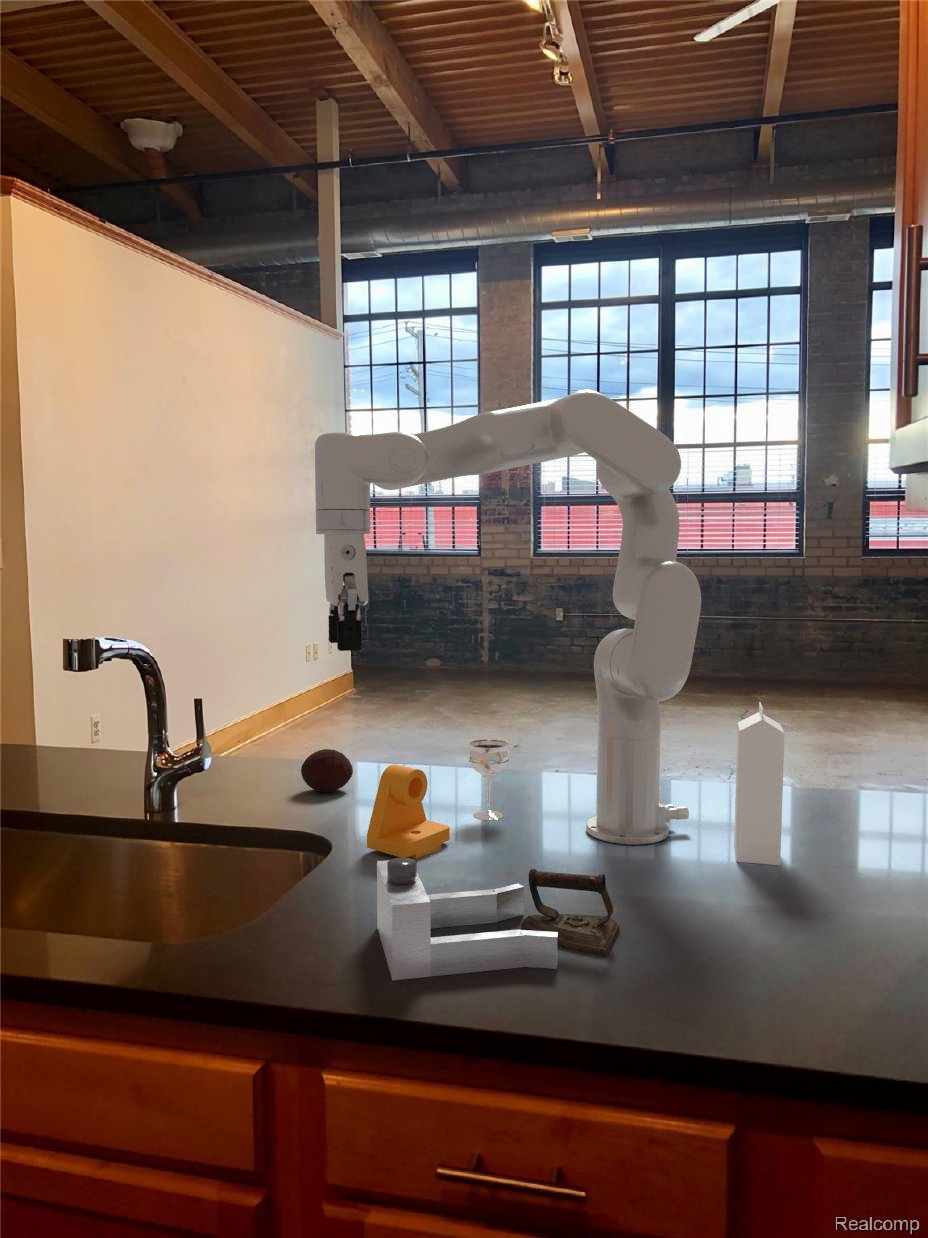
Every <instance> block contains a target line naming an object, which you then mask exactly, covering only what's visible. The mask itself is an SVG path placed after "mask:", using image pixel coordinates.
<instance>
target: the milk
mask: <svg viewBox="0 0 928 1238" xmlns="http://www.w3.org/2000/svg"><path fill="white" fill-rule="evenodd" d="M736 733H737V734H736V763H735V764H736V765H735V766H736V767H735V771H736V772H735V798H734V799H735V802H734V804H735V806H734V834H733V835H734V840H733V841H734V843H733V844H734V845H733V849H734V855H735V856H734V857H735V861H736V863H745V864H755V865H756V864H757V865H758V864H759V865H770V866H781V851H782V850H781V849H782V825H783V824H782V822H783V821H782V820H783V790H784V789H783V788H784V761H785V760H784V758H785V734H786V733H785V731H784V729H783V727H782V725H781V724H780V723H778V722H777V721H775V720H773V719H772V718H770V717H769V716H767V715H766V714H764V707H763V705H762V703H761V701H759V703H758V712H756V713H754V714H752V715H750V716H748V717H746V718H744V719H742V720H740V721H738V722H737V732H736Z"/></svg>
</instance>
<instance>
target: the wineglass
mask: <svg viewBox="0 0 928 1238" xmlns="http://www.w3.org/2000/svg"><path fill="white" fill-rule="evenodd" d="M468 745H469V748H470V749H469V750H468V752H467V756H468V759H467V760H468V763H469V765H470V767H471V768H472V769H473V770H474V771H475V772H477V773H479V774H481V775H483V777H484V778H485V785H486V790H485V791H486V810H482V811H477V812H474V813H473V814H472V815H473V817H474V818H475V819H478V820H483V821H494V820H499V819H502V818H503V817H504V814H503V813H502V812H499V811H497V810H496V811H495V810H491V809H490V803H491V782H492V781H491V779H492V778H493V777H494V775H496V774H498V773H501V772H502V771H503V770H504V769H505V768H506V767H507V766H508V763H509V760H510V753H509V751H508V749H507V748H508V747H509V742H507V741H505V740H502V739H494V738H493V739H492V738H490V739H488V738H486V739H485V738H483V739H482V738H481V739H476V740H475V739H474V740H471V741H469V742H468Z"/></svg>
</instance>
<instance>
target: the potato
mask: <svg viewBox="0 0 928 1238" xmlns="http://www.w3.org/2000/svg"><path fill="white" fill-rule="evenodd" d="M353 769H354V768H353V765H352V763H351V761H350V759H349V758H348V757H347V756H346V755H345V754H344V753H342V752H341V751H339V750H335V749H327V748H326V749H325V748H324V749H321V750H317V751H314V752H312V754H310V755H308V757H306V758H305V760H304V762H303V763H302V765H301V769H300V772H301V773H300V774H301V777H302V780H303V781H304V782H305V784H306V785H307V786H308V787H309V788H310V789H313V790H314V791H317V792H319V793H332V792H335V791H337V790H339V789H341V788H343V787H344V786H346V785H347V784H348V783H349V781H350V780H351V778H352V777H353V774H354V770H353Z"/></svg>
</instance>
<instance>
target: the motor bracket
mask: <svg viewBox="0 0 928 1238" xmlns="http://www.w3.org/2000/svg"><path fill="white" fill-rule="evenodd" d="M417 865H418V862H417V861H416V859H415V858H412V857H396V858H395V857H394V858H391V859H389V860H377V861H376V893H377V894H376V903H377V904H376V906H377V909H376V913H377V914H376V915H377V916H376V917H377V923H376V924H377V930H378V931H377V933H378V934H379V939H380V943H381V945H382V949H383V952H384V955H385V959H386V963H387V967H388V970H389V973H390V977H391V981H400V980H409V979H419V978H421V979H422V978H429V977H438V976H449V975H459V974H460V975H461V974H468V973H478V972H489V971H498V970H508V969H509V970H510V969H518V968H534V969H535V968H536V969H538V968H539V969H551V970H552V969H553V970H557V969H558V956H559V955H558V950H559V949H558V947H559V946H558V932H546V931H529V930H522V929H507V930H500V931H488V932H487V931H486V932H478V933H477V932H476V933H466V934H455V935H445V936H443V935H442V936H434V937H431V932H432V931H431V929H438V928H439V929H440V928H451V927H452V928H453V927H462V926H463V927H464V926H473V925H474V926H475V925H484V924H486V925H487V924H495V923H497V922H501V921H502V922H503V921H505V920H509V919H513V918H517V917H520V916H523V915H525V886H524V885H522V884H520V883H514V884H510V885H506V886H501V887H498V888H491V889H478V890H468V891H456V892H454V891H453V892H444V893H431V894H429V893H428V894H427V891H426V889H425V887H424V884H423V882H422V879H421V878H420V875H419V873H418V870H417V869H418V867H417Z"/></svg>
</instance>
